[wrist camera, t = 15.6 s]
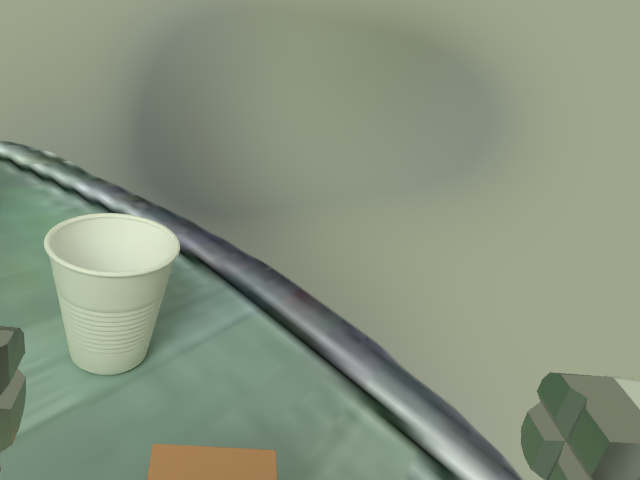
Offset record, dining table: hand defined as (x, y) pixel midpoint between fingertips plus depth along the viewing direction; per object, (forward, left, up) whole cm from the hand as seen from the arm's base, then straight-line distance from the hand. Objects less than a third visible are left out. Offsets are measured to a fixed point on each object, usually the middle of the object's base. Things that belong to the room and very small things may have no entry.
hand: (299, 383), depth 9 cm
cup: (-17, +32, -28) cm, 46 cm away
